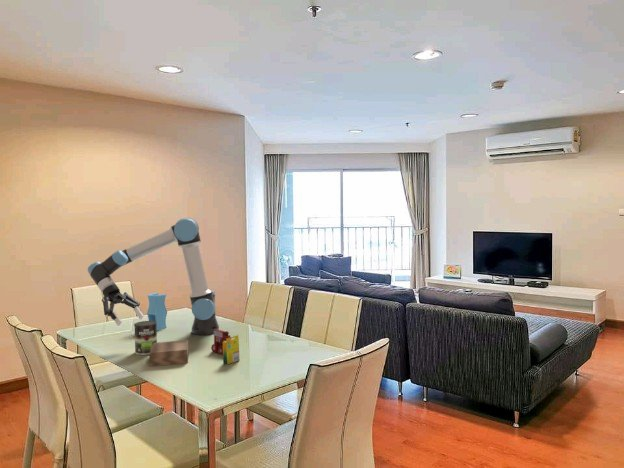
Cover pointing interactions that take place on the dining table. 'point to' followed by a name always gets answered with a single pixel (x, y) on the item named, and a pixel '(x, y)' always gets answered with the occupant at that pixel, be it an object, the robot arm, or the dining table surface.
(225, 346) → the crayon box
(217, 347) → the toy fire truck
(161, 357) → the walnut block
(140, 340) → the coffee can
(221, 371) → the dining table surface
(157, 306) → the vase
